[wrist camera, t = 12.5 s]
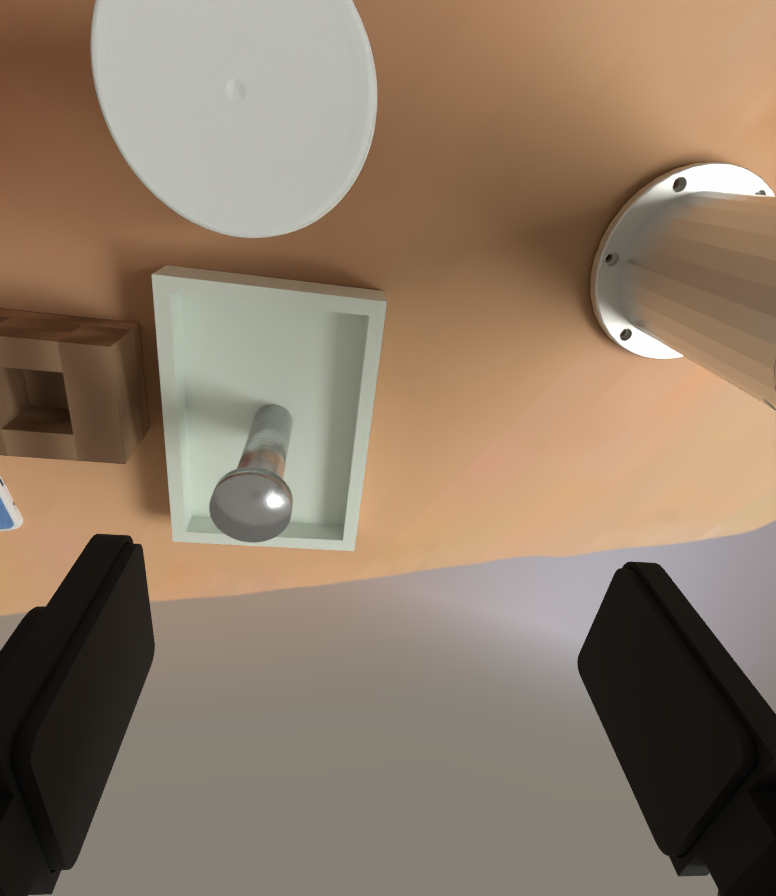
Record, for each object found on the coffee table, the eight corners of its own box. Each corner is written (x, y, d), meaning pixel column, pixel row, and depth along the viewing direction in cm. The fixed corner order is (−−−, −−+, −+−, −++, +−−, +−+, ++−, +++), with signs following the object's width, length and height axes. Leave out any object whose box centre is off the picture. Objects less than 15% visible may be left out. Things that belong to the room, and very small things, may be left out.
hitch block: (139, 323, 35) (110, 346, 31) (149, 429, 39) (125, 463, 34) (-25, 306, 34) (-79, 328, 29) (2, 417, 37) (-42, 452, 33)
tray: (166, 264, 33) (151, 274, 31) (383, 290, 35) (387, 301, 32) (183, 518, 43) (172, 541, 40) (353, 528, 45) (354, 551, 42)
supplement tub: (354, -1, 28) (365, -137, 15) (377, 196, 32) (402, 222, 20) (172, 25, 28) (25, -89, 15) (222, 218, 32) (144, 260, 19)
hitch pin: (305, 396, 37) (293, 479, 28) (302, 450, 39) (289, 544, 30) (242, 391, 37) (207, 473, 27) (242, 445, 39) (210, 540, 29)
